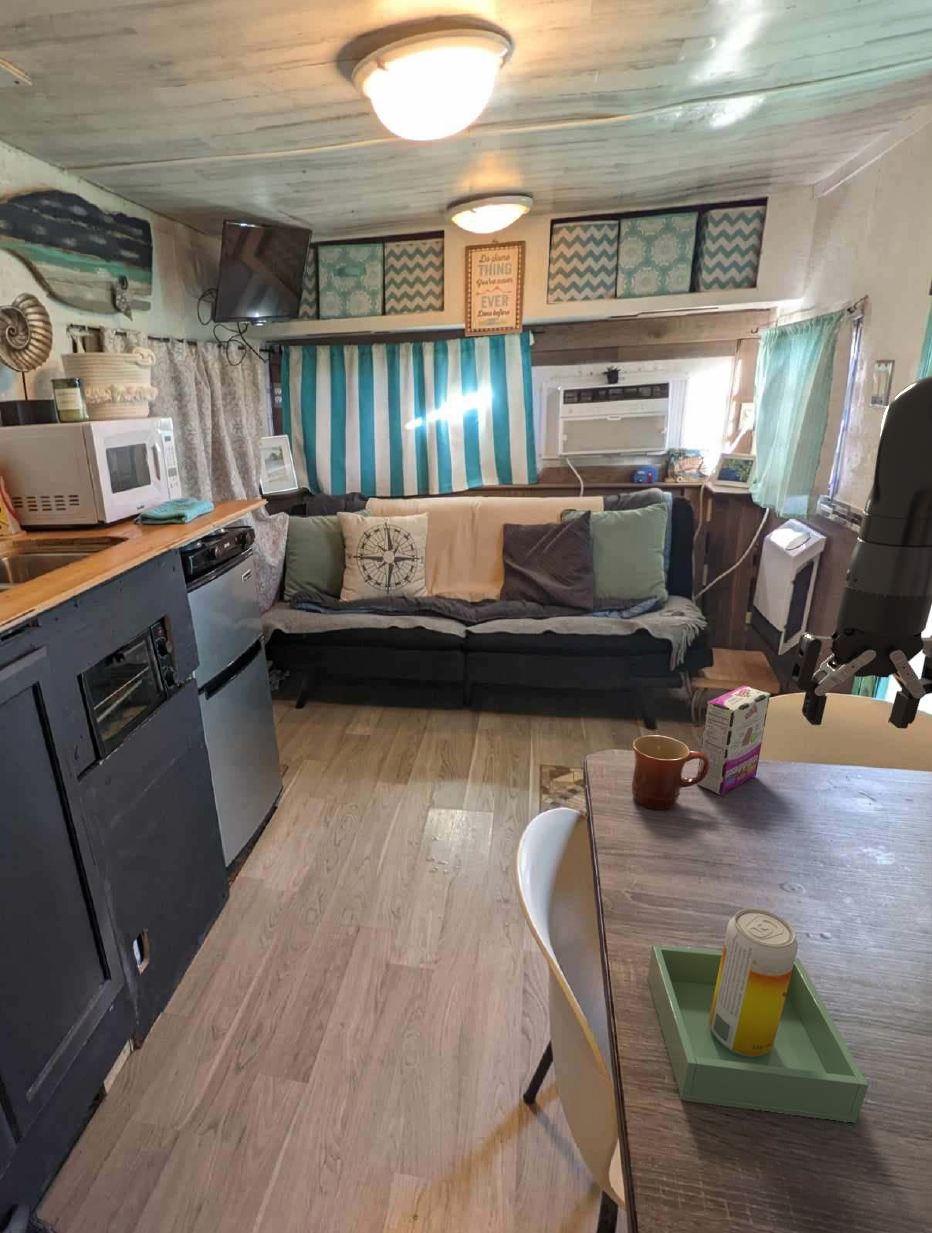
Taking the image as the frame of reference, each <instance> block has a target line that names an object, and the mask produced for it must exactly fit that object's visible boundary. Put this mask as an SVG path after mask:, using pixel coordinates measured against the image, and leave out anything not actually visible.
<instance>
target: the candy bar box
mask: <svg viewBox="0 0 932 1233" xmlns="http://www.w3.org/2000/svg"><path fill="white" fill-rule="evenodd" d="M770 697H771V693H770V692H767V691H764V690H760V689H758V688H754V687H752V686H747V685H742V686H740V687H738V688H736V689H734V690H731V691H728V692H727V693H725V694H722V695H720V696H718V697H716V698H714V699H711V700H709V701H707V704H706V709H705V718H704V726H703V733H702V740H701V748H700V752H701V753H703V754H705V755H706V756H707V758H708V760H709V769H708V772H707V774H706V776H705V777H704V779H703V780H702V781H701V782H699V783H697V784H696V785H697V786H698V787H701V788H702V789H705V790H707V791H710V792H711V793H714V794H716V795H719V796H723V795H724V794H726V793H728V792H730V791H732V790H733V789H735V788H737V787H739V786H740V785H742V784H743V783H746V782H748V781H749V780H751V779H752V778H754V777H756V776H757V772H758V765H759V760H760V755H761V749H762V743H763V737H764V732H765V726H766V719H767V714H768V709H769V704H770ZM702 763H703V760H702V759H699V761H698V768H697V774H698V773H699V771H700V769H701V767H702Z"/></svg>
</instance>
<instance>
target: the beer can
mask: <svg viewBox="0 0 932 1233" xmlns="http://www.w3.org/2000/svg"><path fill="white" fill-rule="evenodd" d="M798 950H799V943H798V941H797V938H796V931H795V930H794V928H793V926H792V925H791V924H790V923H789V922H788V921H787V920H785V919H784V918H783V917H781V916H779V915H778V914H777V913H776V914H775V913H773V912H771V911H769V910H765V909H761V908H756V907H755V908H752V907H747V908H743V909H740V910H738V911H737V912H736V913H735V914H734V916H733V917H732V918H731V919H729V921H728V923H727V927H726V932H725V937H724V944H723V948H722V951H723V952H722V957H721V962H720V967H719V972H718V977H717V982H716V987H715V993H714V998H713V1003H712V1008H711V1013H710V1018H709V1024H710V1028H711V1030H712V1032H713V1033H714V1035H715V1036H716V1037H717V1039H718V1040H719V1041H720V1043H721V1044H722V1045H723V1046H725V1047H726V1048H727V1049H729V1050H730V1051H732V1052H734V1053H736V1054H739V1055H742V1056H746V1057H756V1056H760V1055H764V1054H767V1053H768V1052H770V1051H771V1049H772V1048H773V1045H774V1041H775V1037H776V1033H777V1029H778V1025H779V1021H780V1017H781V1013H782V1009H783V1005H784V1001H785V997H786V993H787V989H788V985H789V981H790V977H791V973H792V969H793V965H794V961H795V958H797V953H798Z"/></svg>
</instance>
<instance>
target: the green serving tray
mask: <svg viewBox="0 0 932 1233" xmlns="http://www.w3.org/2000/svg"><path fill="white" fill-rule="evenodd" d="M650 952H651V953H650V958H649V967H648V973H647V982H648V985H649V989H650V993H651V996H652V999H653V1003H654V1008H655V1011H656V1014H657V1017H658V1022H659V1025H660V1028H661V1032H662V1036H663V1039H664V1043H665V1047H666V1051H667V1054H668V1059H669V1061H670V1065H671V1069H672V1072H673V1076H674V1080H675V1084H676V1088H677V1091H678V1094H679V1099H680V1101H683V1102H691V1103H698V1104H707V1105H712V1104H713V1105H714V1106H720V1105H721V1106H722V1107H727V1106H728V1108H734V1107H735V1108H736V1109H741V1110H749V1109H750V1110H751V1109H754V1110H753V1111H757V1110H762V1111H761V1112H764V1111H770V1112H769V1113H772V1112H778V1113H777V1114H779V1112H781V1113H784V1114H783V1115H786V1114H785V1113H788V1114H790V1115H789V1116H792V1115H791V1114H794V1115H800V1116H799V1117H802V1116H803V1115H804V1116H808V1117H807V1118H809V1117H813V1118H812V1119H816V1118H819V1119H818V1120H824V1119H830V1120H829V1121H831V1120H837V1121H836V1122H839V1121H840V1122H839V1123H846V1122H853V1123H852V1124H854V1123H856V1124H857V1121H858V1118H859V1116H860V1113H861V1110H862V1106H863V1104H864V1100H865V1097H866V1094H867V1091H868V1088H869V1083H868V1082H867V1080H866V1077H865V1076H864V1074H863V1073H862V1070H861V1069H860V1066H859V1065H858V1063H857V1061H856V1060H855V1058H854V1056H853V1054H852V1052H851V1051H850V1048H849V1047H848V1045H847V1043H846V1042H845V1040H844V1038H843V1036H842V1034H841V1033H840V1032H841V1031H839V1029H838V1027H837V1025H836V1023H835V1021H834V1020H833V1018H832V1016H831V1014H830V1012H829V1010H828V1009H827V1006H826V1005H825V1003H824V1001H823V1000H822V998H821V995H820V994H819V993H818V990H817V989H816V987H815V984H814V983H813V981H812V979H811V978H810V976H809V974H808V972H807V971H806V969H805V967H804V965H803V962H802V961H801V959H800V958H799V957H795V961H794V965H793V969H792V973H791V977H790V981H789V985H788V989H787V993H786V997H785V1001H784V1005H783V1009H782V1013H781V1017H780V1021H779V1025H778V1029H777V1033H776V1037H775V1041H774V1045H773V1048H772V1049H771V1051H770V1052H768V1053H767V1054H764V1055H760V1056H756V1057H746V1056H742V1055H739V1054H736V1053H734V1052H732V1051H730V1050H729V1049H727V1048H726V1047H725V1046H723V1045H722V1044H721V1043H720V1041H719V1040H718V1039H717V1037H716V1036H715V1035H714V1033H713V1032H712V1030H711V1028H710V1024H709V1018H710V1013H711V1008H712V1003H713V998H714V993H715V987H716V982H717V977H718V972H719V967H720V962H721V957H722V952H723V950H718V949H706V948H697V947H687V946H686V947H685V946H674V945H667V944H666V945H665V944H652V945H651V951H650ZM713 1105H712V1106H713ZM750 1110H749V1111H750ZM751 1111H752V1110H751ZM794 1115H793V1116H794ZM814 1117H815V1118H814ZM820 1118H821V1119H820ZM841 1121H843V1122H841Z"/></svg>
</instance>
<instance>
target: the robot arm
mask: <svg viewBox="0 0 932 1233" xmlns="http://www.w3.org/2000/svg"><path fill="white" fill-rule="evenodd" d="M886 407H887V408H886V409H885V412H884V415H883V419H882V423H881V429H880V435H879V441H878V446H877V453H876V458H875V467H874V472H873V482H872V486H871V488H870V491H869V493H868V496H867V500H866V502H865V505H864V508H863V509H864V510H863V513H862V518H861V522H860V527H859V532H858V534H857V535H858V536H857V540H856V543H855V546H854V547H853V548H854V549H853V551H852V553H851V556H850V559H849V564H848V568H847V570H846V572H845V577H844V579H845V581H844V586H843V589H842V594H841V598H840V603H839V607H838V611H837V616H836V617H837V618H836V628H835V630H834V632H833V633H832V634H831V635H830V636H825V635H824V636H822V635H814V634H812V633H811V632H809V631H804V632H802V633H801V634H800V635H799V639H798V643H797V647H796V650H795V654H794V658H793V662H792V665H791V668H790V671H789V676H788V678H789V681H791V683H793V685H795V686H796V687H797V688H798V689H799V690H800V691H805V694H804V698H803V703H802V707H801V708H802V709H801V713H802V715H803V716H804V717H805V719H806V721H807V722H808V723H809V724H810V725H812V726H821V725H822V722H823V718H824V717H823V716H824V713H825V708H826V704H827V699H828V696H827V695H826V694H827V693H828V692H829V691H831V690H832V689H833V688H835V686H837V685H838V684H842V683H844V682H846V681H847V680H848V679H849V678H851V676H854V677H856V678H866V677H872V676H873V677H878V678H889V677H890V676H891V675H892V677H893V678H894V679H895V681H896V683H897V684H898V686H899V687H900V688H901V690H897V691H896V693H895V697H894V701H893V704H892V708H891V712H890V716H889V722H890V723H891V724H892V725H893V726H894V727H895V728H897V729H904V730H906V729H907V728H908V727H909V725H912V723H913V722H914V721H915V720H916V715H917V712H918V709H919V705H920V701H921V699H923V698H924V697H925V696H926V695H930V694H932V634H931V635H930V636H929V637H922V634H923V632H924V631H925V630H926V628H927V624H928V622H929V617H930V613H931V609H932V375H930V376H926V377H922V378H920V379H918V380H916V381H913V382H911V383H910V384H908V385H907V386H905V387H904V388H903V389H901V390H900V391H898V393H896V395H895V396H894V397H893V398H892V399H891V401H890V402H889V404H888V405H887V406H886ZM828 649H830V651H831V653H832V654H831V655H830V656H829V657H827V658H826V659H825V660H824V661H823V662H822V663H821V664H820V665H819V669H817V671H816V666H817V663H818V659H819V657H821V656H824V654H825V652H826V650H828ZM920 652H922V654H923V655H924V660H923V664H922V670H921V675H920V678H919V676H918V675H917V673H916V672H915V670H914V669H913V667H912V665H911V664H910V661H912V659H914V658H915V657H916V656H917V655H919V653H920ZM839 666H841V667H839ZM838 667H839V668H838ZM815 671H816V672H815Z"/></svg>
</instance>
